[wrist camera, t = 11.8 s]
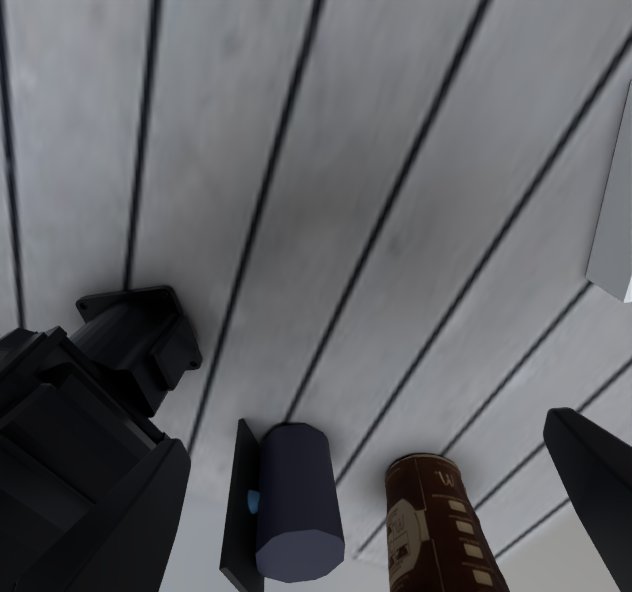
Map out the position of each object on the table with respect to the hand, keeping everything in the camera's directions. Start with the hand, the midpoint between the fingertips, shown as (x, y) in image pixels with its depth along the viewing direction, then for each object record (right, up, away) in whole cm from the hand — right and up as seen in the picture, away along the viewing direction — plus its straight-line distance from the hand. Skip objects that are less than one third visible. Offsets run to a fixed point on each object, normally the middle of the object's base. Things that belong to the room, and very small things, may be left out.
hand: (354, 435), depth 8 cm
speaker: (-3, -8, +20) cm, 22 cm away
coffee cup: (+8, -12, +22) cm, 26 cm away
